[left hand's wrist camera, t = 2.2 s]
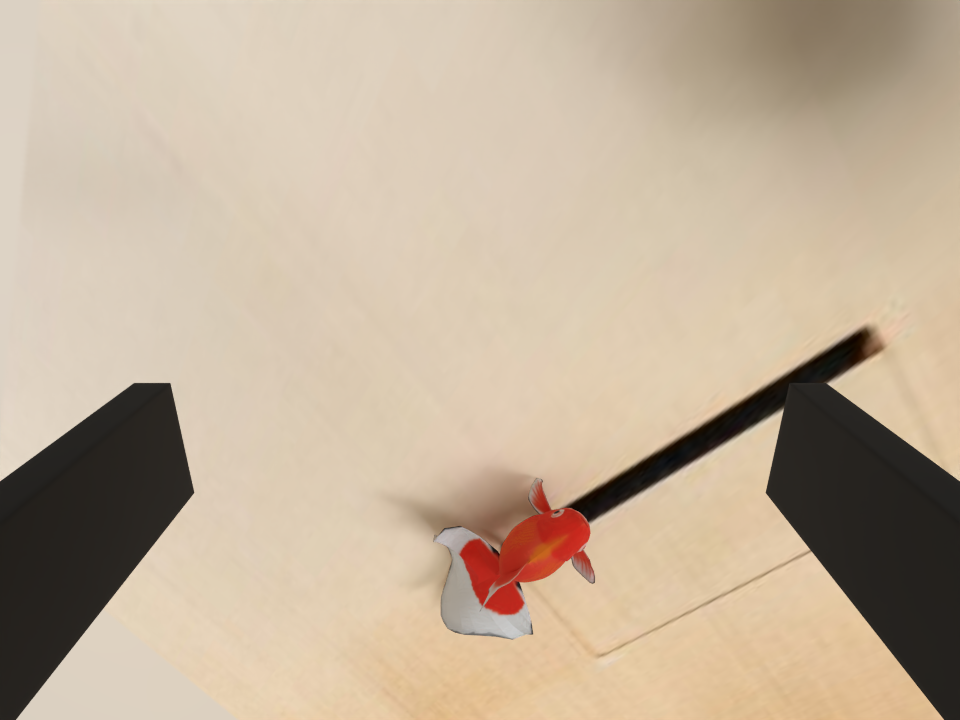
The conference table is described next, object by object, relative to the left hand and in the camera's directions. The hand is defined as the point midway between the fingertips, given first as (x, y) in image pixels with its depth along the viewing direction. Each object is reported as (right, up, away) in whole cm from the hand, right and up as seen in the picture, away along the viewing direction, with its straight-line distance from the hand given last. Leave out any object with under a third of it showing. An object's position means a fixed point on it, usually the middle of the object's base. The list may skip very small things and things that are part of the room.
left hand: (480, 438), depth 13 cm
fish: (+2, -13, +34) cm, 37 cm away
